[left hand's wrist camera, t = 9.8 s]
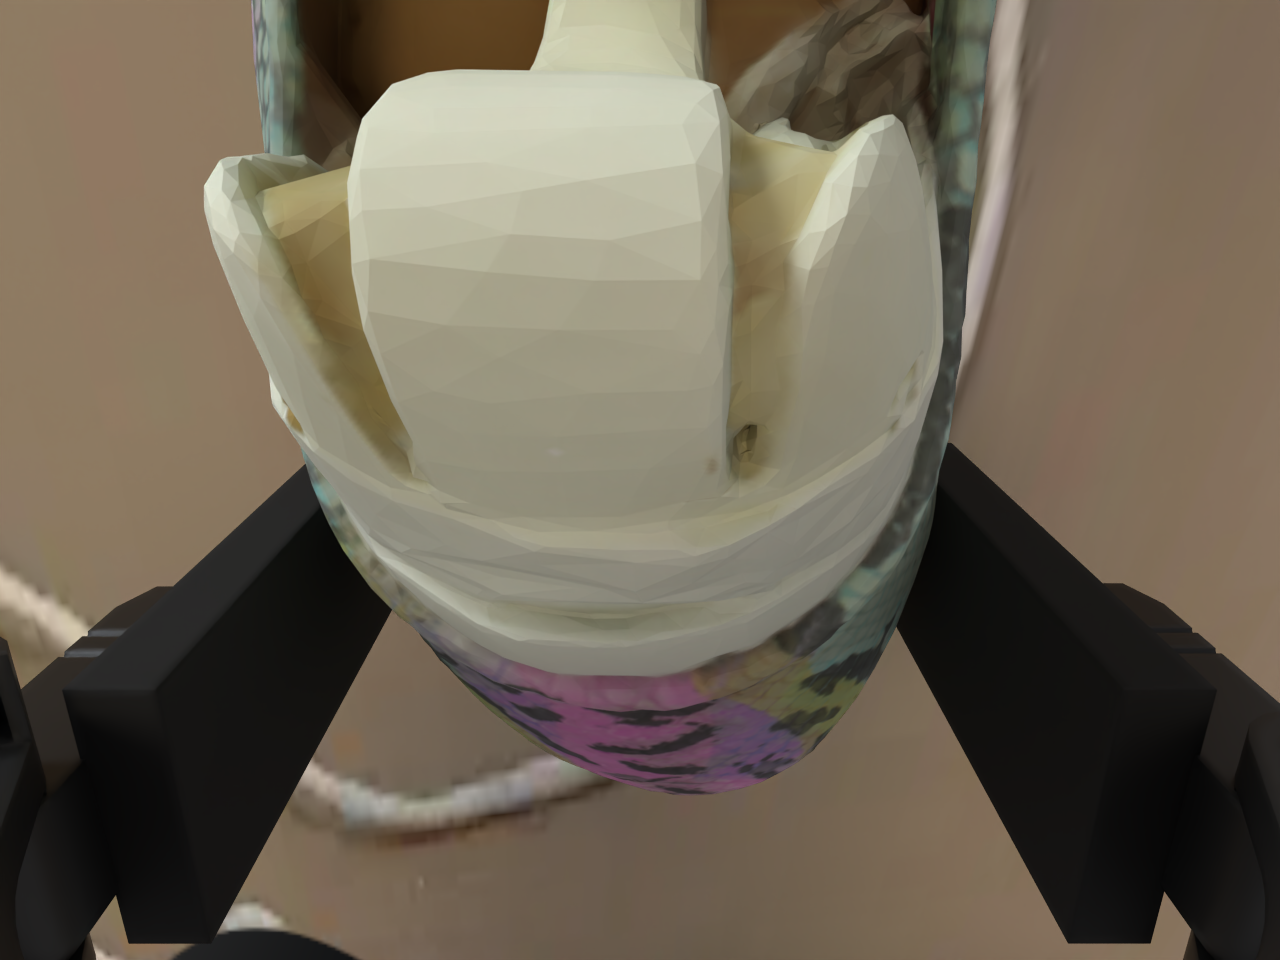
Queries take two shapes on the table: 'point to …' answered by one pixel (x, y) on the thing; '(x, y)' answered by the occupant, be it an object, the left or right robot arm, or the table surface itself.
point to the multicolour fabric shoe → (620, 342)
